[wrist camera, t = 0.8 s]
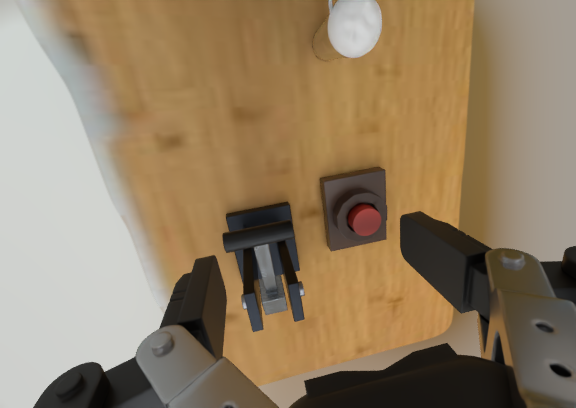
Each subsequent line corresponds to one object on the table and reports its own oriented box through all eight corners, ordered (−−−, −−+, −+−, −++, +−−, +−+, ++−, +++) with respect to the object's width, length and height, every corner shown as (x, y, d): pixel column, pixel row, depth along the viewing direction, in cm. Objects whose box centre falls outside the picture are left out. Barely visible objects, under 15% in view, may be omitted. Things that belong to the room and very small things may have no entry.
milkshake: (310, 6, 28) (343, -38, 19) (354, 32, 30) (404, 3, 21) (292, 52, 30) (316, 30, 20) (335, 74, 31) (375, 64, 22)
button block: (319, 178, 35) (327, 186, 32) (379, 166, 36) (392, 173, 33) (327, 245, 39) (334, 258, 36) (380, 233, 40) (393, 246, 36)
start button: (346, 206, 34) (352, 211, 32) (374, 200, 34) (381, 205, 32) (348, 232, 35) (353, 238, 33) (375, 226, 35) (381, 232, 34)
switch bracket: (226, 213, 35) (218, 272, 23) (288, 201, 36) (311, 252, 24) (242, 278, 39) (243, 357, 27) (298, 265, 39) (322, 337, 28)
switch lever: (221, 224, 20) (223, 250, 19) (288, 210, 21) (295, 235, 19) (249, 295, 29) (251, 318, 27) (296, 285, 29) (301, 307, 27)
